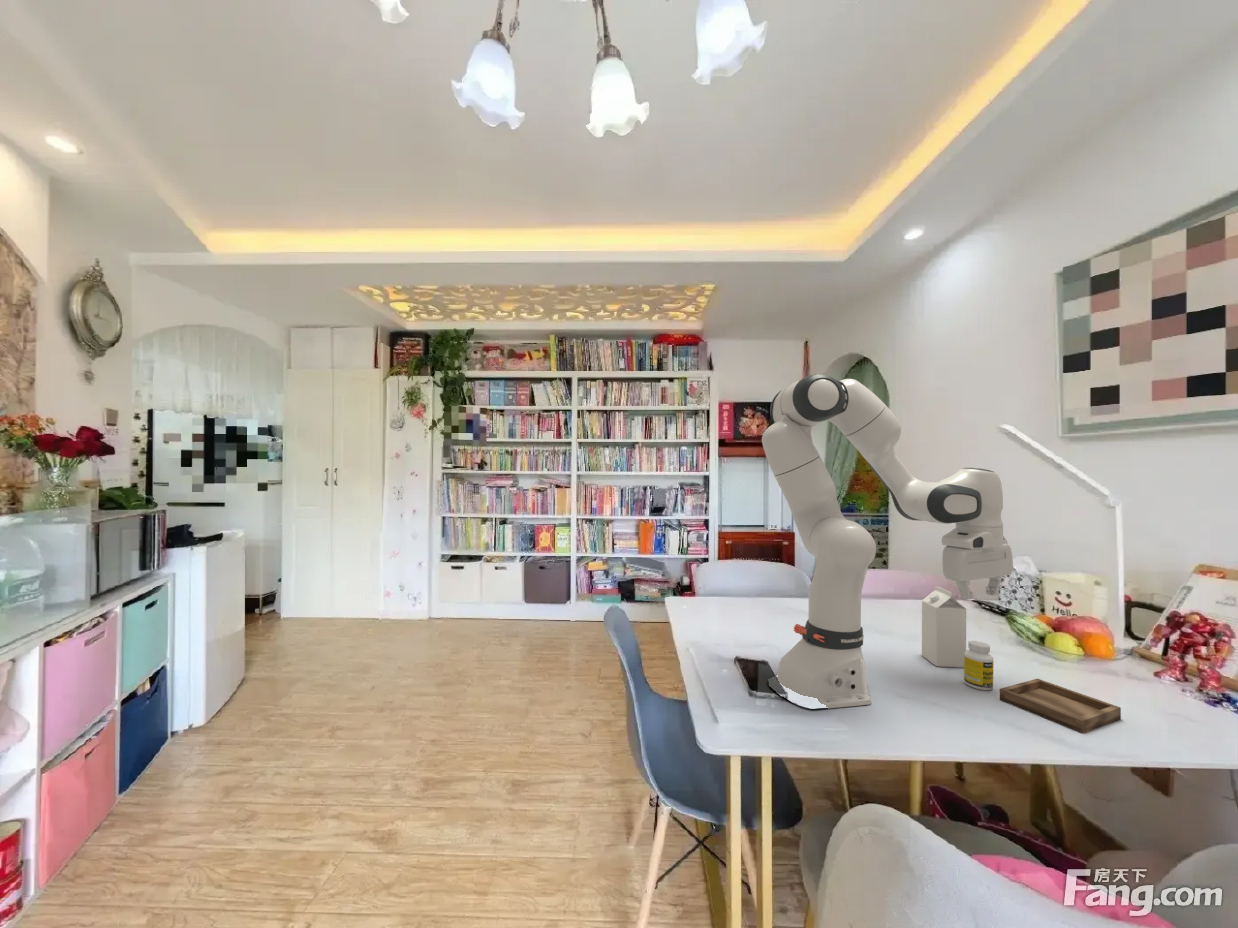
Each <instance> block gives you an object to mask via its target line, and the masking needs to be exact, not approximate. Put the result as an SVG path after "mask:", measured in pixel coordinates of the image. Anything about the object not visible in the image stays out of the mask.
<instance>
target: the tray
mask: <svg viewBox="0 0 1238 928" xmlns="http://www.w3.org/2000/svg"><path fill="white" fill-rule="evenodd" d="M999 700H1000V701H1001V700H1002V701H1001V702H1004V703H1006V704H1010V705H1012V706H1013V707H1017V708H1018V709H1021V710H1024V711H1026V712H1029V713H1032V714H1033V715H1036V716H1039V717H1041V718H1044V719H1046V720H1049V721H1050V722H1053V723H1056V724H1058V725H1061V726H1063V727H1065V728H1068V729H1070V730H1073V731H1076V732H1078V733H1080V734H1086V733H1088V732H1090V731H1094V730H1095V729H1096V730H1097V729H1099V728H1101V727H1104V726H1107V725H1110V724H1113V723H1115V722H1117V721H1122V720H1121V719H1122V717H1121V715H1122V712H1121V711H1122V707H1120V706H1118V705H1115V704H1111V703H1109V702H1106V701H1102V700H1100V699H1098V698H1095V697H1091V696H1089V695H1086V694H1083V693H1080V692H1077V691H1076V690H1071V689H1070V688H1069V689H1068V688H1065V687H1063V686H1061V685H1057V684H1054V683H1052V682H1049V681H1046V680H1043V679H1040V678H1034V679H1032V680H1027V681H1023V682H1020V683H1016V684H1012V685H1009V686H1005V687H1001V688H999Z"/></svg>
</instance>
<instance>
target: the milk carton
mask: <svg viewBox="0 0 1238 928" xmlns="http://www.w3.org/2000/svg"><path fill="white" fill-rule="evenodd" d="M966 650H967V608H966V607H964V606H963V605H962V604H961V603H960V602H959V601H957V600H956V598H954V597H953V592H951V591H949V590H947V589H944V588H942V587H940V586H937V585H935V589H934V590H933V591H932V592H931V593H929V594H927V596H926V597H924V598H923V599H922V600H921V656H922V657H923V658H925V659H926V660H927V661H928V662H930V663H931V664H933V665H934V666H936V667H943V668H944V667H945V668H963V669H964V654H965V651H966Z"/></svg>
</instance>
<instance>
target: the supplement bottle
mask: <svg viewBox="0 0 1238 928" xmlns="http://www.w3.org/2000/svg"><path fill="white" fill-rule="evenodd" d="M967 645H968V649H966V651H965V654H964V668H963V682H964V683H965V684H966V685H967V686H969V687H971V688H974V689H977V690H981V691H991V690H992V689H994V657H993V656H992V654H990V652H991V646H990V645H989V644H988V643H987V642H983V641H979V640H968V644H967Z"/></svg>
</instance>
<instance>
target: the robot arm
mask: <svg viewBox="0 0 1238 928" xmlns="http://www.w3.org/2000/svg"><path fill="white" fill-rule="evenodd" d="M769 411H770V412H769V413H770V426H768V427H767V428H766V429H765V430H764V432H763V433H762V436H761V444H762V448H763V450H764V454H765V457H766V459H767V463H768V465H769V467H770V469H771V472H772V474H773V476H774V478H775V480H776V481H777V483H778V486H779V487H780V490H781V492H782V494H783V496H784V498H785V500H786V502H787V504H788V507H789V509H790V511H791V514H792V518H793V521H794V524H795V526H796V528H797V531H798V534H799V536H800V539H801V542H802V544H803V546H804V547H805V549H806V551H807V552H808V553H809V554H810V555H812V556H813V557H814V558H815V566H814V572H813V576H812V579H811V580H812V581H811V583H810V584H809V587H808V618H807V620H806V622H805V625H804V626H802V625H801V624H798V623H795V624H794V626H793V631H794V632H795V633H796V634H799V635H800V636H801V637H802V638H800V640H799V641H798V642H797V643H795V645H794V646H793V647H791V649H790V650H789V651H787V653H785V654H784V655H783V656H781V658H780V661H779V664H778V669H777V675H778V681H779V682H780V683H781V684H782V685H783V686H785V687H786V688H789V689H791V690H792V691H794V692H796V693H798V694H800V695H803V696H808V697H813V698H817V699H818V701H819V702H820V703H821V704H824V705H826V707H828V709H835V708H836V709H837V708H846V707H848V708H849V707H857V706H866V705H871V704H872V700H871V696H870V694H869V693H870V690H869V688H868V687H869V686H868V682H867V674H866V673H867V672H866V671H867V670H866V665H865V659H864V655H863V651H862V646H863V645H864V638H865V637H864V630H863V627H862V593H863V587H864V584H865V583H864V582H865V579H866V574H867V571H868V568H869V565H870V564H872V562H873V561H874V559H875V557H876V552H877V545H876V541H875V539H874V537H873V536H872V535H871V534H870V532H869V531H868V530H867V529H866V528H865V527H863V525H861V524H859V523H858V522H855V521H853V520H850V519H847V518H846V517H845V516H844V515H843V513H842V511H841V508H840V505H839V502H838V498H837V494H836V485H835V483H834V480H833V479H832V477H831V475H830V472H829V471H828V468H827V467H826V465H825V463H824V461H823V459H822V457H821V455H820V453H819V452H818V450H817V448H816V446H815V444H814V442H813V438H812V427H813V426H816V425H817V424H820V423H821V422H824V421H829V422H830V423H832V424H833V425H834V426H836V428H838V430H839V431H840V432H841V433H842V435H843V436H844V437H845V438H846V439H847V440H848V441H849V443H851V444H852V445H853V446H854V447H855V449H856V450H857V451H858V452H859V454H860V455H861V456H862V457H863V459H864V461H865V462H866V463H867V464H868V466H869V467H870V469H871V470H872V472H874V474H875V475H876V476H877V478H879V480H880V482H882V484H883V485H884V486H885V488H886V489H887V490H888V492H889V493H890V496H891V499H892V502H893V505H894V507H895V509H896V511H897V512H898V513H899V514H900V515H901V516H902V517H904V518H905V519H907V520H910V521H922V522H924V521H925V522H928V523H929V522H930V523H936V524H943V525H947V524H954V523H955V527H954V528H953V529H952V530H950V531H949V532H948V533H945V534H944V535H943V536H942V537H941V544H942V546H944V548H943V550H942V573H943V575H944V577H945V579H946V580H950V581H954V582H955V583H956V586H957V587H958V589H959V591H960V592H959V593H960V594H959V597H960V598H961V599H963V600H967V601H969V600H972V599H973V591H971V590H970V584H971V581H974V580H981V579H983V580H984V579H988V585H987V586H985V594H987V595H988V596H997V595H998V594H999V587H1000V585H1001V583H1002V580H1003V579H1002V577H1003V576H1008V575H1009V576H1011V575H1012V573H1013V571H1014V560H1013V551H1012V548H1011V546H1010V545H1009V542H1008V540H1007V539H1006V538H1005V536H1004V524H1003V520H1002V512H1003V507H1004V499H1003V498H1004V497H1003V496H1004V495H1003V494H1004V493H1003V487H1002V482H1001V479H1000V476H999V474H997V472H995V471H993V470H990V469H985V468H980V467H979V468H977V467H976V468H975V467H962V468H959V469H958V471H957V472H956V473H954V474H952V475H951V476H948V477H946V478H944V479H941V480H938V481H925V480H921V479H918V478H916V477H914V476H913V475H912V474H911V473H910V471H909V470H908V469H907V467H906V466H905V465H904V463H902V462H901V460H900V459H899V457H898V455H896V453H895V450H894V447H895V446H896V445H897V443H898V442H899V441H900V438H901V434H902V425H901V423H900V421H899V419H898V418H897V417H896V415H895V413H893V411H892V410H891V409H890V408H889V407H888V406H887V405H886V404H885V402H883V400H882V399H881V398H879V397H878V396H877V395H876V394H875V393H874V392H872V391H871V390H870V388H868V387H867V386H865V385H864V384H862V383H861V382H860V381H858V380H857V379H854V378H845V379H841V380H837V379H835V378H834V377H832V376H830V375H826V374H824V373H823V374H821V373H817V374H810V375H809V374H808V375H807V376H804V377H803V378H801V379H799V380H797V381H794V382H792V383H791V382H790V383H789V384H788V385H786V387H784V388H783V389H781V390H780V391H779V392H778V393H776V395H775V396H774V397H773V398H772V400H771V404H770V409H769Z"/></svg>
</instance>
